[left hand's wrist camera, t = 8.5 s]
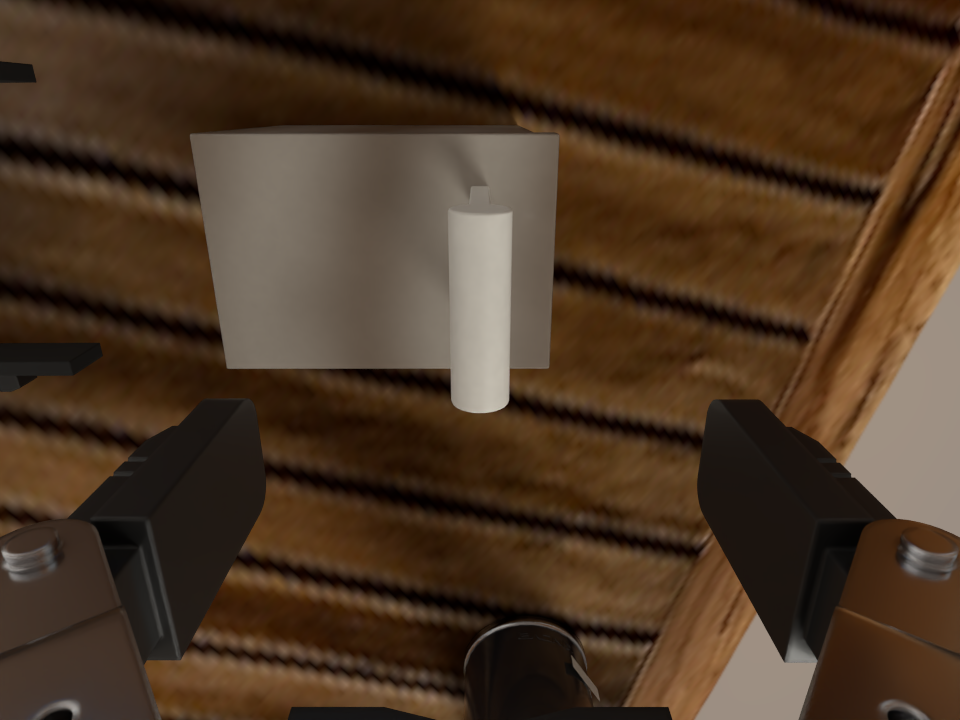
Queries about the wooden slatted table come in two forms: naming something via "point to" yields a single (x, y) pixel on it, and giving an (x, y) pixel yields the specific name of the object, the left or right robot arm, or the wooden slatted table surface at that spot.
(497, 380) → the lid
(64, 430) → the wooden slatted table surface
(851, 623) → the left robot arm
